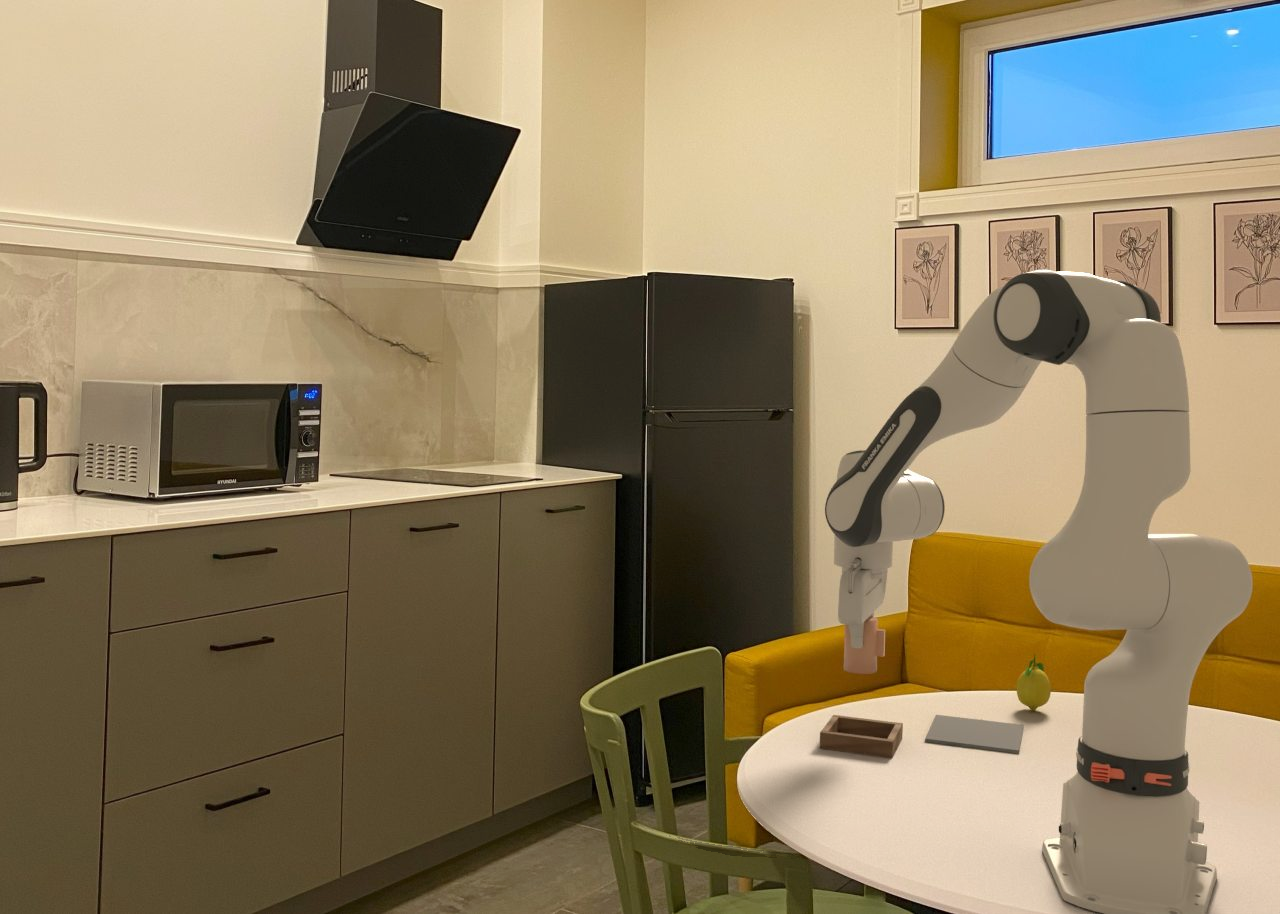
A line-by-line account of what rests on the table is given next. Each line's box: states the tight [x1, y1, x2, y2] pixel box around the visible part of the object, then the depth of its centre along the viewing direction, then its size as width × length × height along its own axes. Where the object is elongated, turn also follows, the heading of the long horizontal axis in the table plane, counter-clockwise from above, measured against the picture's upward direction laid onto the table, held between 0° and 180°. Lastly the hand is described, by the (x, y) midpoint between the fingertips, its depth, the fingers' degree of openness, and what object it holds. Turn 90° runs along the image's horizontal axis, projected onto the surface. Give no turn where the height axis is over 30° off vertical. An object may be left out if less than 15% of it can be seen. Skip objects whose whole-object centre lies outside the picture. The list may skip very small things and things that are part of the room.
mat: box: [924, 714, 1025, 754], centre depth 182 cm, size 14×14×1 cm
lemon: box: [1016, 653, 1052, 712], centre depth 196 cm, size 7×6×10 cm
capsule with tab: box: [843, 616, 886, 675], centre depth 176 cm, size 5×6×8 cm
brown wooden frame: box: [819, 714, 904, 759], centre depth 177 cm, size 10×11×2 cm
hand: (861, 643), depth 176 cm, fingers closed on capsule with tab, 5 cm apart
